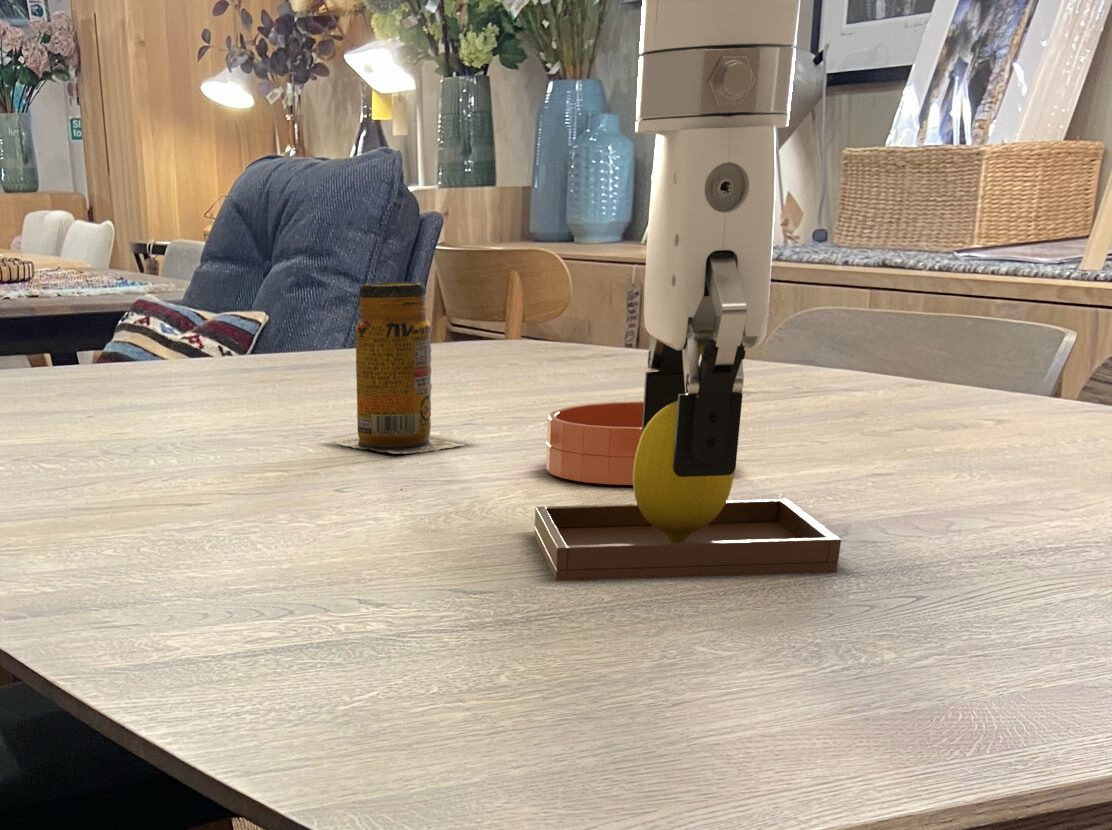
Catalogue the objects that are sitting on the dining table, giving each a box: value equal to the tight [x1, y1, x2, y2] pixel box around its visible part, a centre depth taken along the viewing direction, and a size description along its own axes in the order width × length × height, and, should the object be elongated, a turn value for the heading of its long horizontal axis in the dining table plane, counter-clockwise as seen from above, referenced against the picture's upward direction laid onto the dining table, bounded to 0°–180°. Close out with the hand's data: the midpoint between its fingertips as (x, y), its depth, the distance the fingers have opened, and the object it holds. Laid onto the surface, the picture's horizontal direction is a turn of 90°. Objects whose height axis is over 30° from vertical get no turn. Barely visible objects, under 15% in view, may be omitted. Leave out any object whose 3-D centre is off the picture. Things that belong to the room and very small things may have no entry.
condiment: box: [335, 281, 465, 455], centre depth 116 cm, size 7×8×12 cm
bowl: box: [545, 401, 644, 486], centre depth 104 cm, size 13×13×4 cm
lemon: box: [632, 401, 735, 542], centre depth 81 cm, size 6×6×8 cm
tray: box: [533, 498, 842, 582], centre depth 82 cm, size 15×11×2 cm
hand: (685, 459), depth 80 cm, fingers open, 9 cm apart
